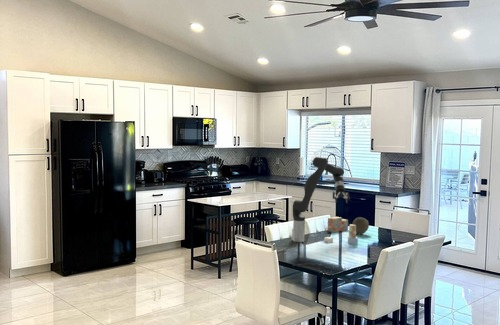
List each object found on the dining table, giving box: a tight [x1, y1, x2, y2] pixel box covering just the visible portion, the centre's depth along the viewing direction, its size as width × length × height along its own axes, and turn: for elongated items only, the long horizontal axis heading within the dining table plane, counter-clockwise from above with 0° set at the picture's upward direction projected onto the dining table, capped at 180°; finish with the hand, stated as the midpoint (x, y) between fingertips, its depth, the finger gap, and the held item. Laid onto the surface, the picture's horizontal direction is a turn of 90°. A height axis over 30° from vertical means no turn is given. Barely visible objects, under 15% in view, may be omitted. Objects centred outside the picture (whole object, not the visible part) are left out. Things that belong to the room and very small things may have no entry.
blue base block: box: [347, 235, 359, 245], centre depth 386 cm, size 7×7×5 cm
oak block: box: [348, 223, 357, 238], centre depth 386 cm, size 4×4×10 cm
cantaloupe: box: [352, 216, 370, 235], centre depth 422 cm, size 14×14×15 cm
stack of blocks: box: [327, 216, 349, 233], centre depth 437 cm, size 21×6×12 cm, turn 129°
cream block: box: [323, 236, 334, 244], centre depth 389 cm, size 5×5×4 cm
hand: (341, 202), depth 401 cm, fingers open, 8 cm apart
